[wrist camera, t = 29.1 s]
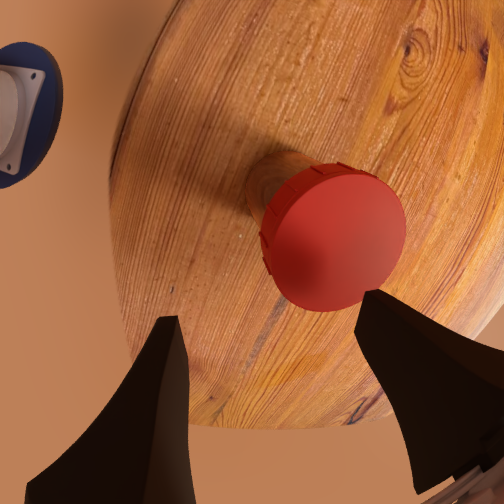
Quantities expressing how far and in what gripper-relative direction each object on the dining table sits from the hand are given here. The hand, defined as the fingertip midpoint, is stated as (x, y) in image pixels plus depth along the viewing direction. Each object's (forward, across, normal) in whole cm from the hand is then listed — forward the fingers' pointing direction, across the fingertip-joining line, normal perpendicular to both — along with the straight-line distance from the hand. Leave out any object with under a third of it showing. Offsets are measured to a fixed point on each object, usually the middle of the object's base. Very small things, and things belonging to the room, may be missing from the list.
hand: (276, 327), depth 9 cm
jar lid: (+2, -3, -2) cm, 4 cm away
